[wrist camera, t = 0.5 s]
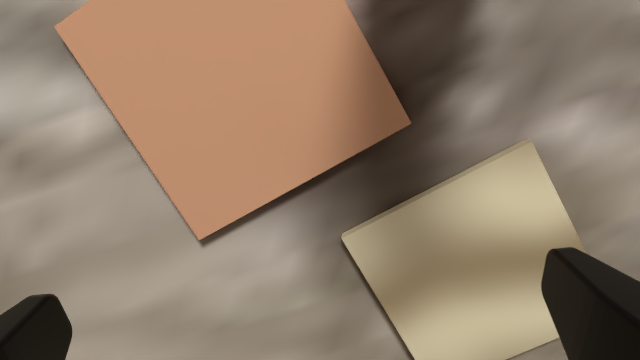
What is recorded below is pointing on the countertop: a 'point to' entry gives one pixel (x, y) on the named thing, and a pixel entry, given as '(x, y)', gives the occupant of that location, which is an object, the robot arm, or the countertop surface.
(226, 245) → the countertop surface
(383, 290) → the mat
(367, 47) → the mat
